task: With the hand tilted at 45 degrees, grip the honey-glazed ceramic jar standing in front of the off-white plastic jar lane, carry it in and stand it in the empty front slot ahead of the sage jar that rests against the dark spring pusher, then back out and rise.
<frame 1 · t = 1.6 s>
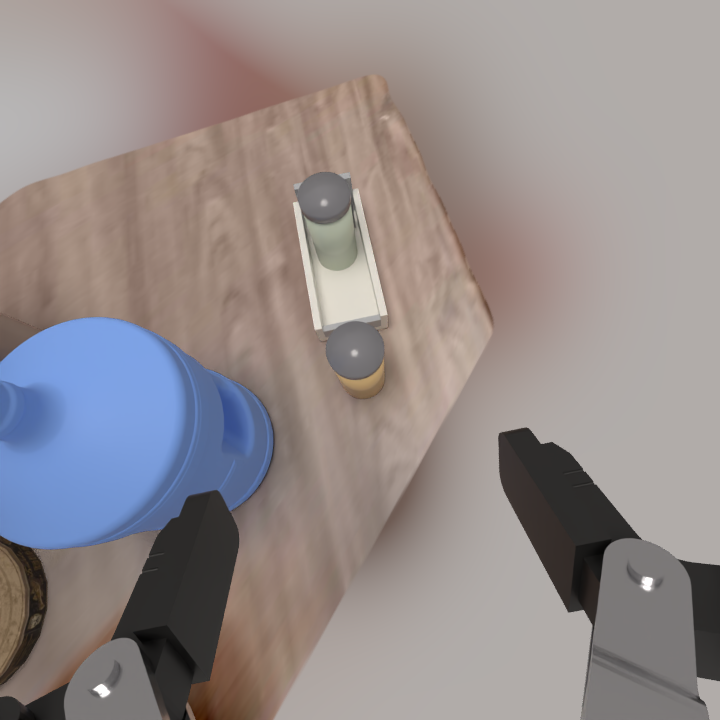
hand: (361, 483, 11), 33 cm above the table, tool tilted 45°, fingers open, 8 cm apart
jar lane: (347, 301, 50), on the table
honey jar: (362, 377, 47), on the table
pusher: (328, 212, 49), point 4 cm above the table, slide at 0.0 cm
water jug: (210, 446, 46), on the table
sage jar: (337, 252, 51), point 1 cm above the table, touching jar lane
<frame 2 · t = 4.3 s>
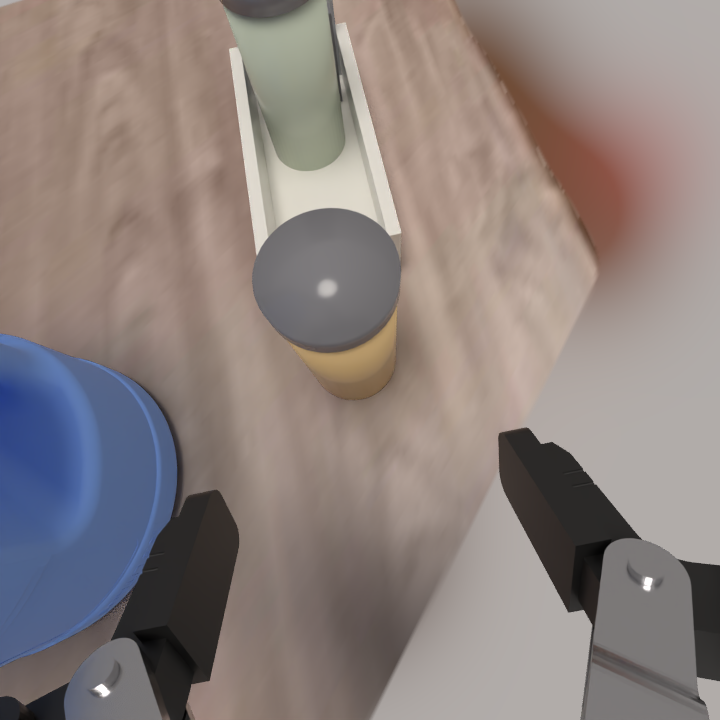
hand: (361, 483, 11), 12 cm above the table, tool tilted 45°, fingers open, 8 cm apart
jar lane: (327, 225, 28), on the table
honey jar: (354, 359, 25), on the table
pusher: (292, 62, 27), point 4 cm above the table, slide at 0.0 cm
water jug: (62, 491, 24), on the table
sage jar: (309, 141, 29), point 1 cm above the table, touching jar lane
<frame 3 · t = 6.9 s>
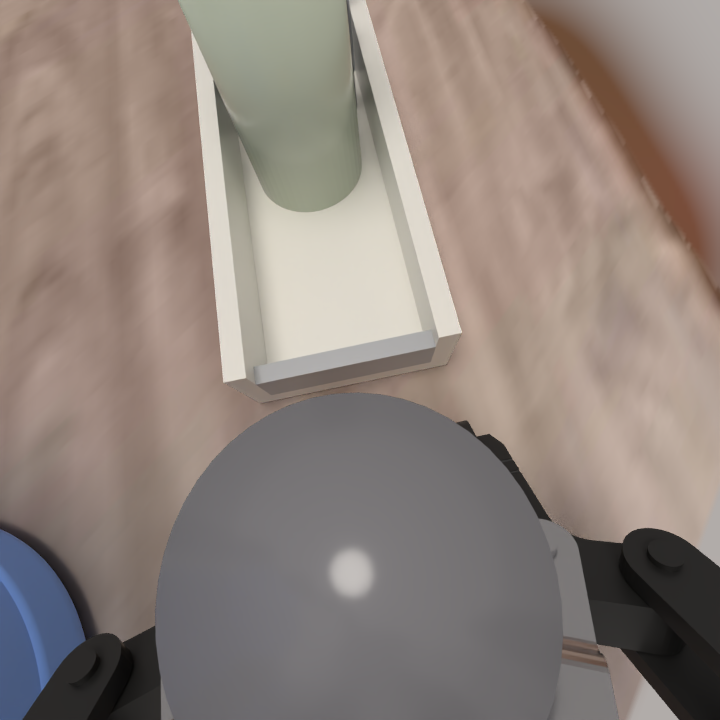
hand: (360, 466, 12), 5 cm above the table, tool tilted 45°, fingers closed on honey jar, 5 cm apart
jar lane: (335, 293, 19), on the table
honey jar: (378, 515, 16), on the table, touching gripper
pusher: (284, 51, 18), point 4 cm above the table, slide at 0.0 cm
sage jar: (310, 168, 20), point 1 cm above the table, touching jar lane
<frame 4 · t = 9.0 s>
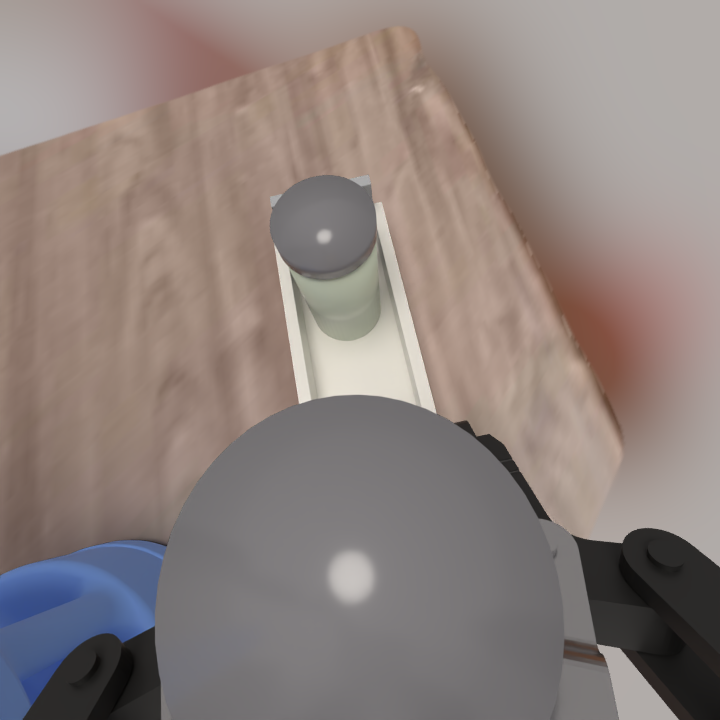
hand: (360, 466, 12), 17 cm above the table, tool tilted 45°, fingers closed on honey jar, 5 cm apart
jar lane: (365, 394, 29), on the table
honey jar: (378, 516, 16), point 12 cm above the table, touching gripper
water jug: (124, 667, 26), on the table
sage jar: (347, 309, 30), point 1 cm above the table, touching jar lane
when the fingers open (7 cm above the table, at t = 11.5 s): honey jar drops 1 cm, resting on jar lane.
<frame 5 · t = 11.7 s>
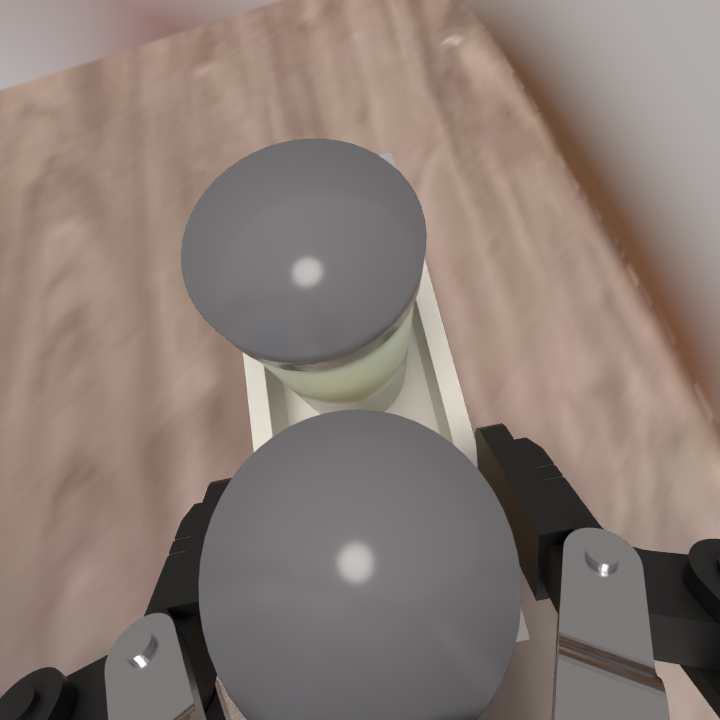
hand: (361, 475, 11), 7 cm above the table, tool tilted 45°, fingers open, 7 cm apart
jar lane: (379, 510, 18), on the table
honey jar: (378, 516, 17), point 1 cm above the table, touching jar lane
sage jar: (351, 369, 19), point 1 cm above the table, touching jar lane
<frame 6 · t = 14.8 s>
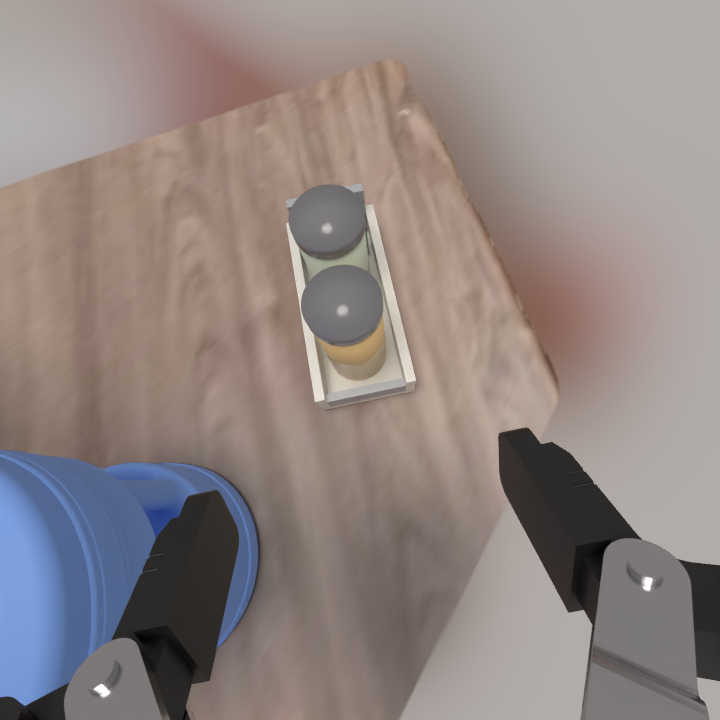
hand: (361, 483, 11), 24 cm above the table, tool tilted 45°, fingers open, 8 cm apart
jar lane: (359, 354, 37), on the table
honey jar: (358, 353, 36), point 1 cm above the table, touching jar lane
pusher: (334, 236, 37), point 4 cm above the table, slide at 0.0 cm
water jug: (173, 558, 34), on the table
sage jar: (345, 288, 38), point 1 cm above the table, touching jar lane
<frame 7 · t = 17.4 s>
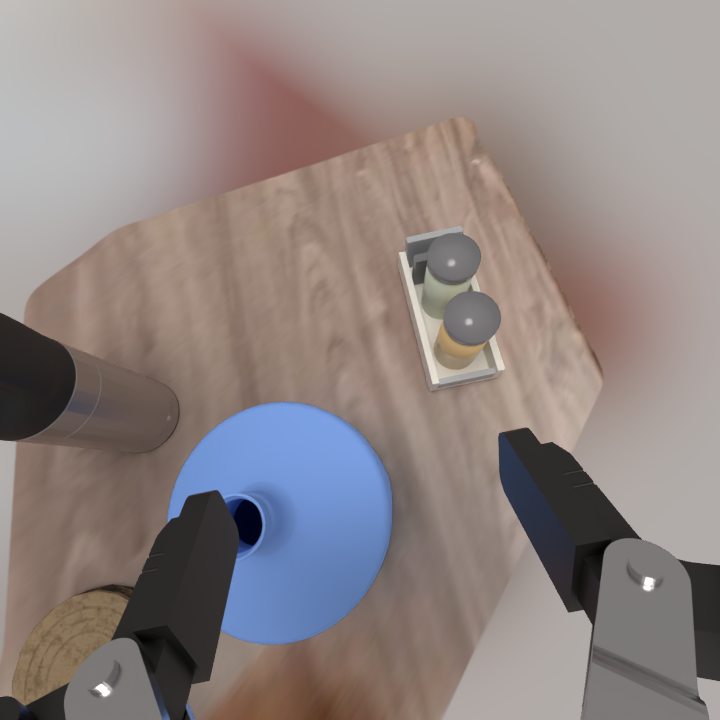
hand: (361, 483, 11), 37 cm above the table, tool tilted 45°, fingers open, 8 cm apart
jar lane: (453, 350, 50), on the table
honey jar: (454, 349, 49), point 1 cm above the table, touching jar lane
pusher: (436, 263, 49), point 4 cm above the table, slide at 0.0 cm
brown round flat disc: (107, 663, 43), on the table
water jug: (325, 497, 46), on the table
sage jar: (441, 301, 51), point 1 cm above the table, touching jar lane
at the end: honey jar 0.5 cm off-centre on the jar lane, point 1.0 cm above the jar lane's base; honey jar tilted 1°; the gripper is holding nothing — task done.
